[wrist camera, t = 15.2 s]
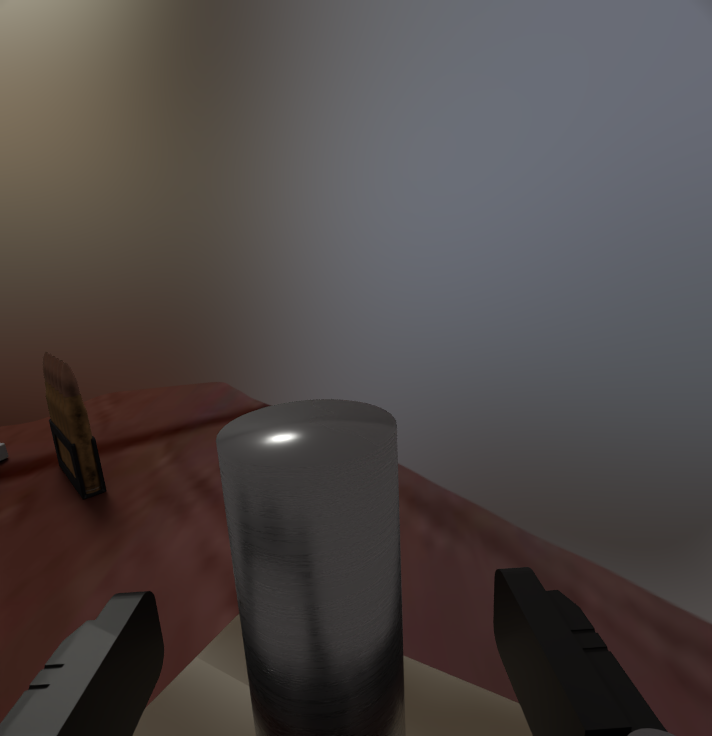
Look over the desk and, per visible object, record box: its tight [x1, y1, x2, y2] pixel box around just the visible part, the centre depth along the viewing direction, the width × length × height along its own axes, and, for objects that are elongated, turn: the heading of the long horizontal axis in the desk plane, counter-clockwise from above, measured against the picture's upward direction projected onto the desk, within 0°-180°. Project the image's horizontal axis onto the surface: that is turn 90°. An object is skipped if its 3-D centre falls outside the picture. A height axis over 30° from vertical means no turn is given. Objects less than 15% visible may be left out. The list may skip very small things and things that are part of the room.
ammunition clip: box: [43, 352, 106, 499], centre depth 40 cm, size 11×2×12 cm, turn 44°
